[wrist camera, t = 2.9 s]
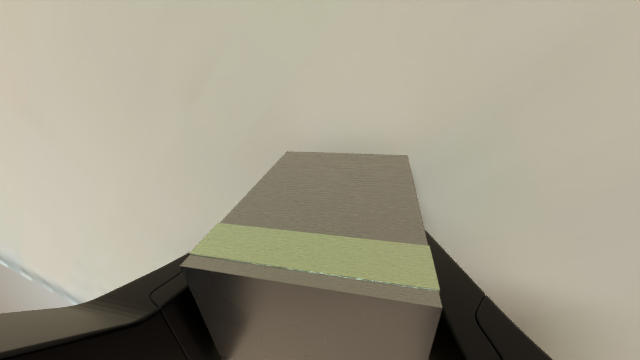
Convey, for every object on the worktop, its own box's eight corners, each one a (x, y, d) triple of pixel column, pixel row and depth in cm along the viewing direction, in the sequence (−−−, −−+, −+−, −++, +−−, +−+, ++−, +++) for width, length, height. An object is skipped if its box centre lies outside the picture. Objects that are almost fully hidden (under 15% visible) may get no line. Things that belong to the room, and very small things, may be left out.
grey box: (408, 154, 9) (444, 307, 4) (396, 251, 11) (408, 433, 6) (286, 151, 10) (178, 264, 5) (297, 239, 12) (232, 385, 7)
